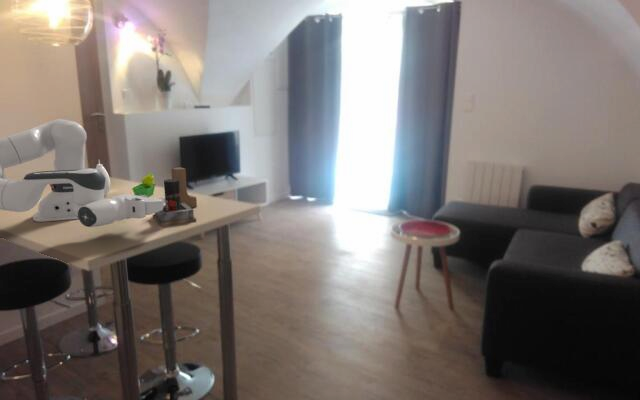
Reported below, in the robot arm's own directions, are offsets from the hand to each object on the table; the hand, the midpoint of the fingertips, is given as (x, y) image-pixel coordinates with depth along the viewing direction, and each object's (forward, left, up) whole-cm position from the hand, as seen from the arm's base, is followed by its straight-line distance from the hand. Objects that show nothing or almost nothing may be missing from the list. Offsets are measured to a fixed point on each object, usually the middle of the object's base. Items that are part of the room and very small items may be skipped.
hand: (155, 198), depth 181 cm
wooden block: (+17, +21, -11) cm, 29 cm away
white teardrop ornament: (-12, +62, -11) cm, 64 cm away
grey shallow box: (+8, +5, -11) cm, 14 cm away
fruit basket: (+6, +51, -11) cm, 52 cm away
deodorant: (+8, +5, -10) cm, 13 cm away
